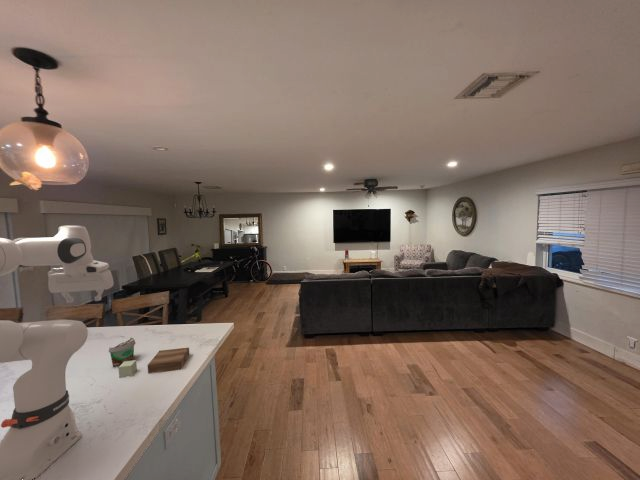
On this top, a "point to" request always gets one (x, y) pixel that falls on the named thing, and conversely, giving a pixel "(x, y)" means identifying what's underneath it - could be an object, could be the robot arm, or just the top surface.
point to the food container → (122, 352)
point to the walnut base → (168, 360)
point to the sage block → (127, 368)
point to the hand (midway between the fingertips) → (84, 301)
